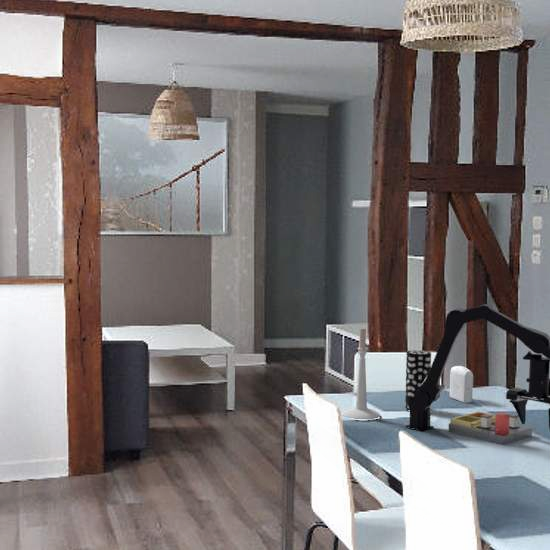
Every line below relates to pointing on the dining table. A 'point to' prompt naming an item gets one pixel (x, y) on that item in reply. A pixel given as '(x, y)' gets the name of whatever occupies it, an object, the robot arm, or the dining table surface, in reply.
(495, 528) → the dining table surface
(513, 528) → the dining table surface
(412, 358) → the white-spotted black cylinder
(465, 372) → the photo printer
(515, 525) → the dining table surface
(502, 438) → the panel
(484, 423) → the block
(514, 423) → the block
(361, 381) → the candlestick
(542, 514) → the dining table surface
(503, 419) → the red rounded cylinder
